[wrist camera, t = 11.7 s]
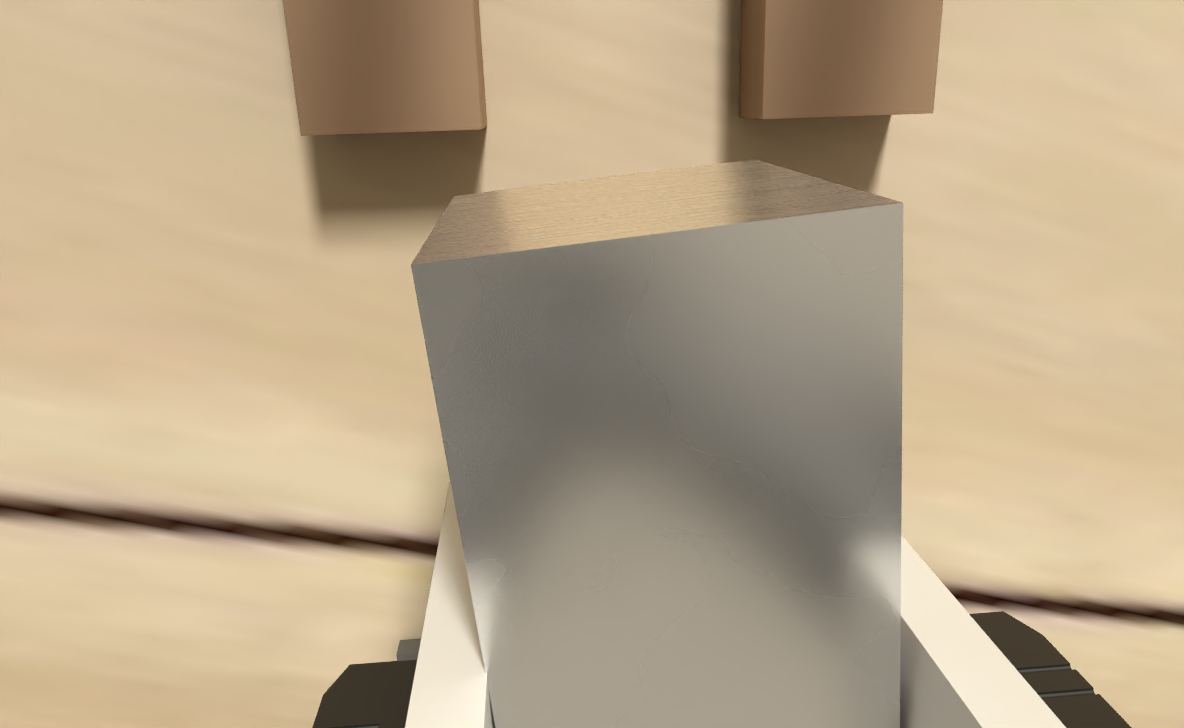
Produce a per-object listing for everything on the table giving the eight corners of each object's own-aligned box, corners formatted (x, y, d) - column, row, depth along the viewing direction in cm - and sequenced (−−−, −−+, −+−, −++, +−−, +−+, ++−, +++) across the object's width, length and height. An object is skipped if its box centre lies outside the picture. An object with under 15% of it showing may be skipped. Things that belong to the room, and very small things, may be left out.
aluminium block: (529, 659, 15) (533, 933, 10) (453, 196, 12) (410, 264, 7) (777, 622, 15) (899, 874, 10) (755, 159, 12) (903, 202, 8)
